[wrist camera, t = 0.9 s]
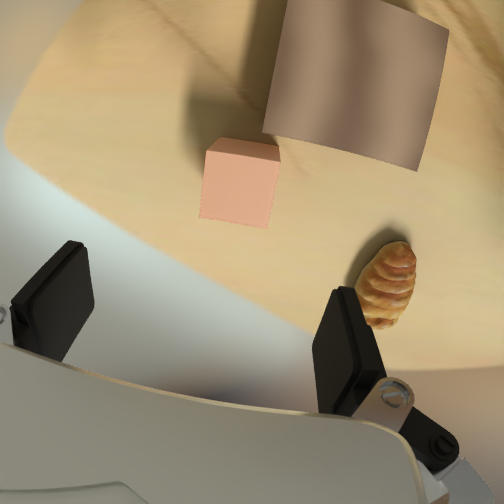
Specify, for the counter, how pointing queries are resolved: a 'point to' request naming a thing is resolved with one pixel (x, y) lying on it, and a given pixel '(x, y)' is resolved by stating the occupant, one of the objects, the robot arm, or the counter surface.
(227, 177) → the terracotta block
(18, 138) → the counter surface
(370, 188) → the counter surface
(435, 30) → the taupe streaked block
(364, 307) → the pastry
